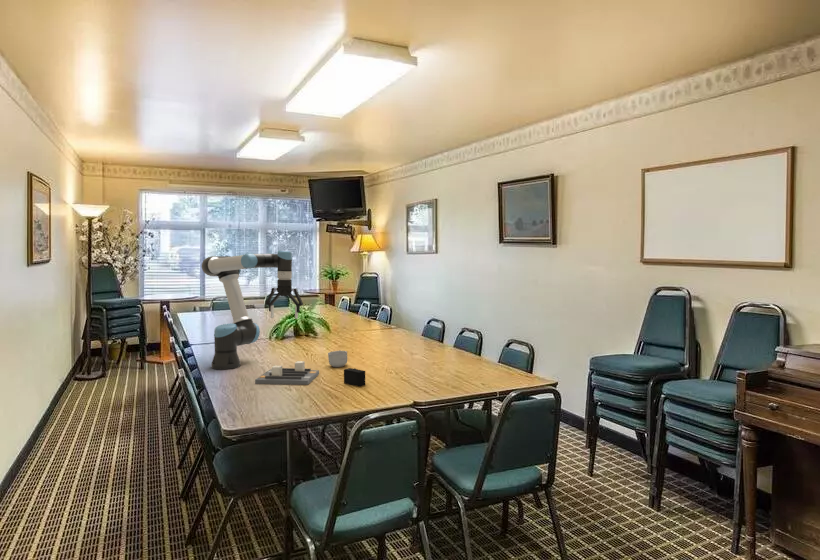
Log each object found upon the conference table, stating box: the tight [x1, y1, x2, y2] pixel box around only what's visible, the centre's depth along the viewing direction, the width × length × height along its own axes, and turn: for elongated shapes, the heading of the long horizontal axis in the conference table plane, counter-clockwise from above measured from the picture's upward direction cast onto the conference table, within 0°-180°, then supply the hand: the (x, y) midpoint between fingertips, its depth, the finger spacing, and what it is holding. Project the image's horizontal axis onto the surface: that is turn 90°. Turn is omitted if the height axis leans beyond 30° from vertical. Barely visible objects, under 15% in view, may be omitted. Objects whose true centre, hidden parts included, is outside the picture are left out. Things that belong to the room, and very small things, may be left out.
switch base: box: [254, 367, 320, 386], centre depth 256 cm, size 26×22×3 cm
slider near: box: [271, 365, 283, 376], centre depth 251 cm, size 4×4×5 cm
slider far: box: [294, 360, 306, 371], centre depth 261 cm, size 4×4×5 cm
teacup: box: [327, 350, 348, 368], centre depth 286 cm, size 14×11×8 cm
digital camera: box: [343, 367, 366, 387], centre depth 246 cm, size 10×5×7 cm, turn 53°
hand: (284, 318), depth 276 cm, fingers open, 13 cm apart
